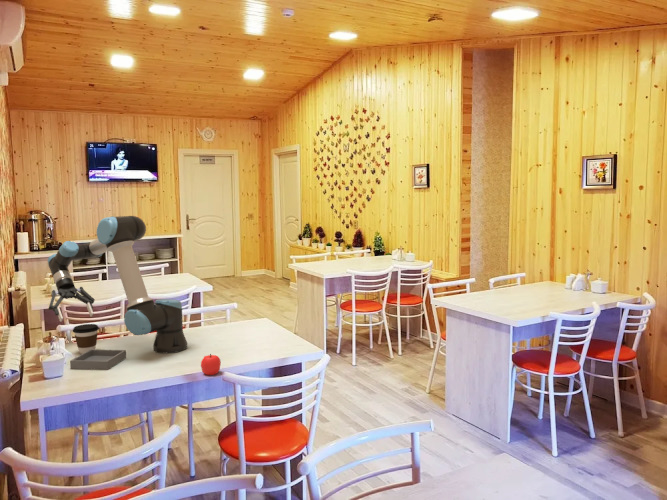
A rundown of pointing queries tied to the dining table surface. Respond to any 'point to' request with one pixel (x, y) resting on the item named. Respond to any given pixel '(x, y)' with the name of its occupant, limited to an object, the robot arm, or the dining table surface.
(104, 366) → the holder tray
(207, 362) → the apple
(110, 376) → the dining table surface
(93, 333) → the coffee cup
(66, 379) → the dining table surface
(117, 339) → the dining table surface
